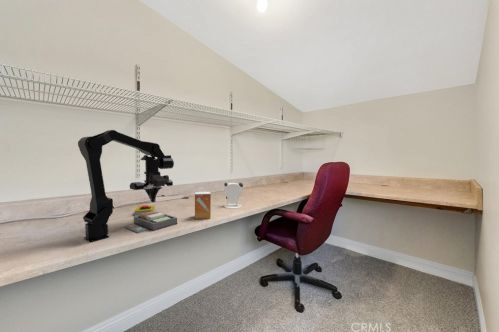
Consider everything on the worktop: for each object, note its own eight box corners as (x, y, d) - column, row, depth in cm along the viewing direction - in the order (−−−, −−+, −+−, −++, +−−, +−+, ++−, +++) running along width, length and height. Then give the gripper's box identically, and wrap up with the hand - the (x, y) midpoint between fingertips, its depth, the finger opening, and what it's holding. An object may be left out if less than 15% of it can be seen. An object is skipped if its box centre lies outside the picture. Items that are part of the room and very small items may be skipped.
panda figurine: (241, 204, 148) (241, 181, 147) (243, 208, 137) (244, 184, 136) (223, 204, 146) (223, 181, 145) (224, 208, 135) (224, 184, 134)
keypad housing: (153, 230, 96) (153, 224, 96) (133, 223, 106) (133, 217, 106) (177, 223, 106) (177, 217, 106) (157, 217, 116) (157, 211, 116)
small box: (194, 219, 113) (194, 194, 112) (195, 215, 119) (194, 191, 119) (210, 218, 115) (210, 193, 114) (210, 215, 121) (210, 191, 120)
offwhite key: (150, 221, 102) (150, 217, 102) (146, 220, 104) (146, 215, 104) (164, 218, 107) (164, 213, 107) (159, 216, 110) (159, 212, 110)
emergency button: (133, 209, 116) (138, 203, 131) (133, 217, 117) (138, 210, 131) (152, 208, 119) (155, 202, 134) (152, 216, 119) (155, 209, 134)
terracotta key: (144, 219, 105) (144, 215, 105) (140, 217, 107) (140, 213, 107) (158, 216, 111) (158, 212, 111) (153, 214, 113) (153, 210, 113)
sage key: (157, 226, 99) (157, 221, 99) (152, 224, 101) (152, 220, 101) (171, 222, 104) (171, 218, 104) (166, 220, 107) (166, 216, 106)
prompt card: (137, 233, 93) (137, 231, 93) (124, 227, 100) (124, 225, 100) (147, 230, 96) (147, 228, 96) (133, 225, 103) (133, 223, 103)
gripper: (140, 171, 94) (141, 208, 94) (179, 169, 108) (179, 201, 109) (128, 170, 100) (129, 204, 101) (166, 168, 115) (166, 198, 116)
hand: (152, 202), depth 107 cm, fingers closed
